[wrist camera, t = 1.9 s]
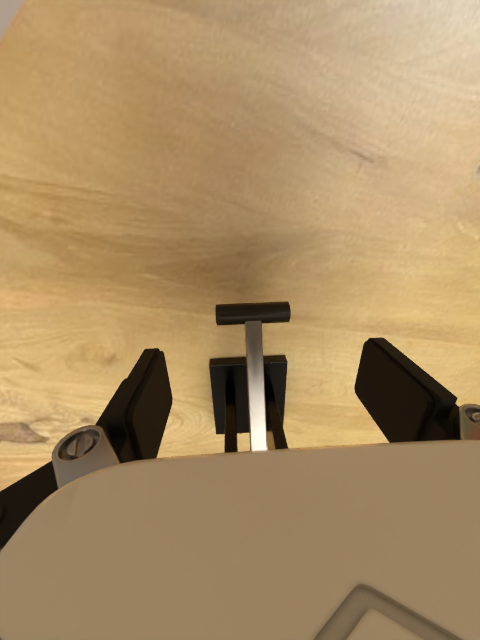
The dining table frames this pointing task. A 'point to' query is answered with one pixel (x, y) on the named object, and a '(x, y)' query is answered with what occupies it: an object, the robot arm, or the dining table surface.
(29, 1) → the dining table surface
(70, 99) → the dining table surface
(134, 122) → the dining table surface
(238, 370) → the switch bracket
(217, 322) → the lever
